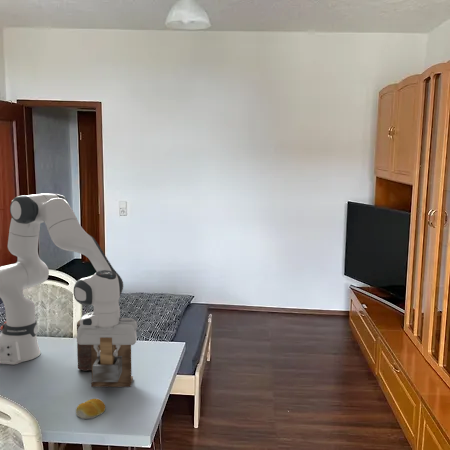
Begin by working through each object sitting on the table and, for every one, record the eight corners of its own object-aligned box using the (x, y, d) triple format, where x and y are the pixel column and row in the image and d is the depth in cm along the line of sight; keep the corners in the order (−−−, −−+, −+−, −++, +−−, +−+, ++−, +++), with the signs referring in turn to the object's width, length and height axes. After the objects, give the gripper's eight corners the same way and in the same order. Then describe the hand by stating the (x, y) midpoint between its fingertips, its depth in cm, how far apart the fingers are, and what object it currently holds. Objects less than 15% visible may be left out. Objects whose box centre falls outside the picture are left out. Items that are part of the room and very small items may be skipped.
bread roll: (110, 410, 159) (109, 399, 159) (88, 422, 152) (87, 410, 152) (93, 403, 164) (93, 391, 164) (71, 414, 157) (71, 402, 156)
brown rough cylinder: (91, 374, 185) (90, 324, 182) (73, 372, 186) (72, 322, 184) (100, 366, 192) (99, 317, 190) (83, 364, 194) (82, 316, 191)
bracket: (85, 398, 167) (84, 353, 164) (95, 379, 181) (94, 337, 179) (126, 398, 167) (125, 353, 165) (132, 379, 182) (132, 337, 179)
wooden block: (103, 366, 172) (102, 333, 170) (114, 366, 172) (114, 333, 170) (100, 371, 168) (100, 337, 166) (112, 371, 168) (111, 338, 166)
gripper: (138, 315, 171) (138, 352, 173) (79, 314, 170) (80, 352, 172) (135, 321, 164) (135, 360, 166) (74, 320, 164) (75, 359, 166)
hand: (107, 356), depth 169 cm, fingers closed on wooden block, 4 cm apart
